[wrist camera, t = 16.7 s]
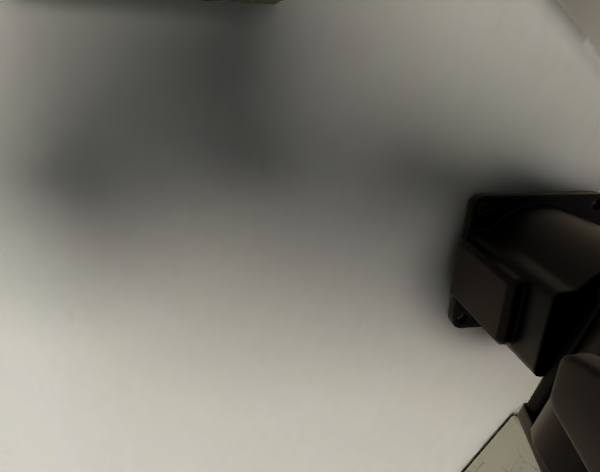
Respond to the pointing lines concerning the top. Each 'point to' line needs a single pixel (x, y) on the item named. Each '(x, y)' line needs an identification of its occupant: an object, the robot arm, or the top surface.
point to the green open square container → (252, 1)
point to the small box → (506, 452)
